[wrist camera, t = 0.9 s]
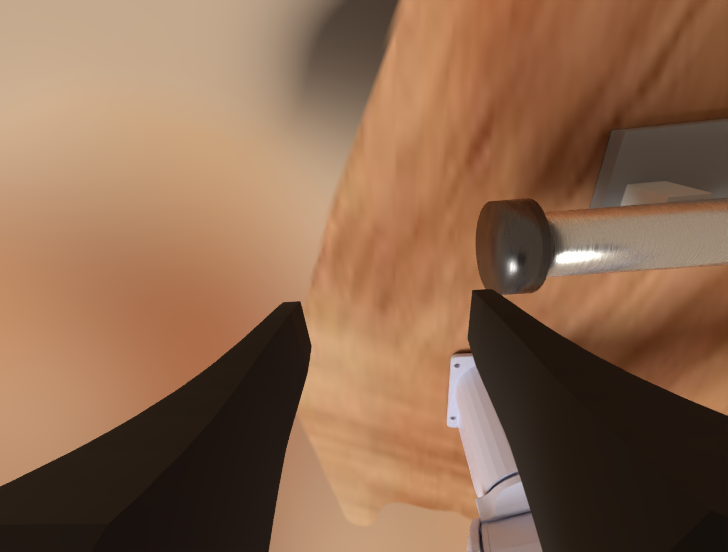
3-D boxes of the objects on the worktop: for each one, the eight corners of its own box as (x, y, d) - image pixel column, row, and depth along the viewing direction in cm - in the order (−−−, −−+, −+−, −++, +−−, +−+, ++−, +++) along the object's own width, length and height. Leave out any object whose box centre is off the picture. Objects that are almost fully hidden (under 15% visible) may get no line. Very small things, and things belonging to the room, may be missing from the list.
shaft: (760, 249, 16) (902, 301, 12) (470, 269, 17) (503, 323, 13) (821, 152, 14) (1028, 172, 9) (478, 183, 15) (521, 214, 11)
